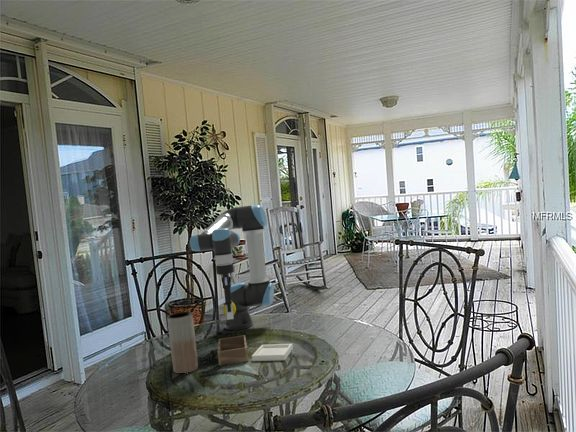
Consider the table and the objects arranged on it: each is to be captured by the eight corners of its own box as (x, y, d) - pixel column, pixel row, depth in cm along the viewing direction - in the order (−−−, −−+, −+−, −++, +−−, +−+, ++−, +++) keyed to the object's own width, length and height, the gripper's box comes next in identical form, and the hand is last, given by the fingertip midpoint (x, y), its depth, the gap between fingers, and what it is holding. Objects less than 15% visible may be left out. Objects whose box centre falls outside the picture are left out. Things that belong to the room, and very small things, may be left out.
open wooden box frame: (220, 351, 199) (218, 339, 199) (246, 346, 201) (245, 335, 201) (219, 365, 180) (217, 352, 180) (248, 360, 181) (246, 347, 181)
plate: (262, 349, 194) (261, 344, 194) (293, 348, 191) (292, 343, 191) (252, 361, 181) (251, 355, 181) (284, 360, 177) (284, 354, 177)
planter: (171, 368, 182) (165, 314, 182) (195, 363, 186) (189, 310, 186) (175, 376, 173) (168, 319, 173) (200, 370, 177) (194, 314, 177)
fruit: (221, 319, 188) (219, 301, 188) (228, 316, 194) (226, 298, 193) (233, 319, 186) (230, 301, 186) (239, 316, 192) (237, 298, 191)
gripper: (216, 263, 198) (222, 313, 199) (214, 267, 180) (221, 323, 180) (233, 260, 199) (238, 311, 200) (233, 265, 181) (239, 321, 181)
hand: (230, 317), depth 190 cm, fingers closed on fruit, 6 cm apart
